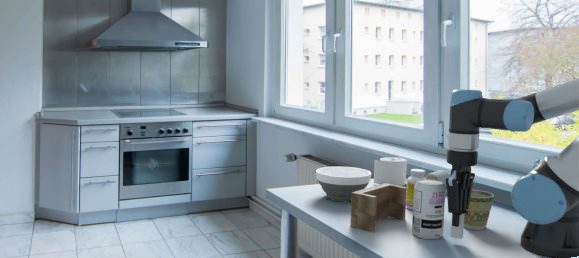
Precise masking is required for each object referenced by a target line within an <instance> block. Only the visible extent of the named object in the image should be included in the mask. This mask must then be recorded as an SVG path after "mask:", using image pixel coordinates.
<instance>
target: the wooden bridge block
mask: <svg viewBox="0 0 579 258" xmlns="http://www.w3.org/2000/svg"><path fill="white" fill-rule="evenodd" d="M406 192H407V186H397V185H392V184H387V183H384V184H377V185H374V186H370V187H366V188H365V189H362V190H359V191H355V192H352V196H351V201H350V223H349V224H350V225H349V226H350V227H352V228H356V229H359V230H362V231H367V232H369V233H374V232H375V231H376V224H377V223H376V222H379V221H381V220H383V219H386V218H392V219H396V220H400V221H404V220H406V211H407V207H406Z"/></svg>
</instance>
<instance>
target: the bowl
mask: <svg viewBox="0 0 579 258" xmlns="http://www.w3.org/2000/svg"><path fill="white" fill-rule="evenodd" d="M315 176H316V180H317V182H318V183H319V185H320V186H321V189H322V190H323V193H325V194H326V197H327V199H329V200H331V201H336V202H343V201H348V202H351V196H352V192H355V191H359V190H362V189H366V188H367V186H368V185H369V184H370V182H371V178H372V172H371V171H370V170H368V169H364V168H360V167H354V166H353V167H351V166H325V167H324V166H323V167H320V168H317V169H316V170H315Z"/></svg>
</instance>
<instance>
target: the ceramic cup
mask: <svg viewBox="0 0 579 258" xmlns="http://www.w3.org/2000/svg"><path fill="white" fill-rule="evenodd" d="M494 198H495V195H494V194H493V193H492V192H490V191H485V190H480V189H472V191H471V197H470V203H469V209H466V211H469V212H468V214H466V213H464V228H463V229H467V230H476V231H482V230H485V229H486V228H487V225H488V221H489V217H490V213H491V210H492V206H493V203H494Z"/></svg>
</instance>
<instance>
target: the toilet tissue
mask: <svg viewBox="0 0 579 258" xmlns="http://www.w3.org/2000/svg"><path fill="white" fill-rule="evenodd" d="M407 164H408V160H407V159H406V158H404V157H403V158H402V157H396V156H395V157H394V156H393V157H391V156H389V157H388V156H387V157H386V156H385V157H380V158H379V160H378V159H374V168H373V184H377V185H381V184H384V183H387V184H392V185H397V186H403V187H405V185H406V186H407Z"/></svg>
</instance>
